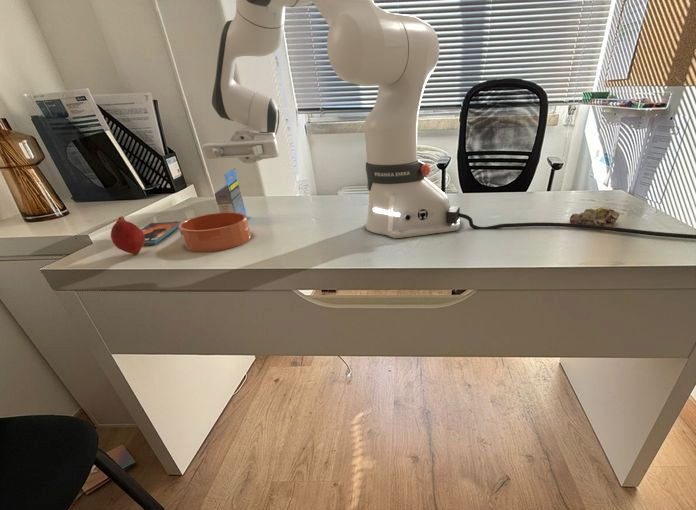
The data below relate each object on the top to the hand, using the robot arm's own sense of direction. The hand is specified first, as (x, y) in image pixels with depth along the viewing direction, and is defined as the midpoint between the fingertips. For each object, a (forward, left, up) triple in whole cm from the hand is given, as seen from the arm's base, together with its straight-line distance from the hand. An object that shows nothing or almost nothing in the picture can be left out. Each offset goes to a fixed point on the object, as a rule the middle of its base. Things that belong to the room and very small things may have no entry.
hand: (233, 152), depth 102 cm
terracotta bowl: (0, +26, -15) cm, 30 cm away
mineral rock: (-86, +30, -15) cm, 92 cm away
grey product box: (0, +12, -15) cm, 19 cm away
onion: (+16, +32, -15) cm, 39 cm away
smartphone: (+18, +19, -15) cm, 30 cm away
